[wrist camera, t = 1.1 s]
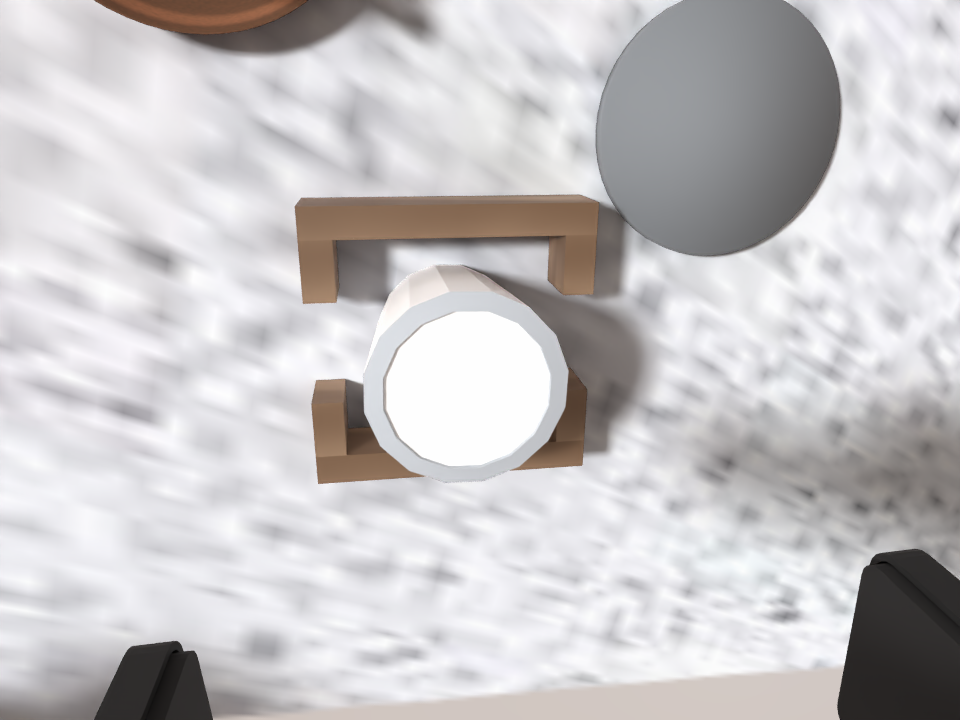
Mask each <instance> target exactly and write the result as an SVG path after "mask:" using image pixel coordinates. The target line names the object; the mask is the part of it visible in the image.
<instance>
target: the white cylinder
mask: <svg viewBox="0 0 960 720" xmlns="http://www.w3.org/2000/svg"><path fill="white" fill-rule="evenodd" d="M568 371H569V370H568V368H567V365H566V362H565V359H564V356H563V353H562V350H561V347H560V344H559V341H558V339H557V336H556V334H555V333H554V332H553V331H552V330H551V329H550V328H549V327H548V326H547V325H546V324H545V323H544V322H543V321H542V320H541V319H540V318H539V316H538V315H537V314H536V313H535V312H534V311H533V310H532V309H531V308H530V307H529V306H527V305H526V304H525V303H523V302H522V301H520V300H519V299H518V298H516V297H515V296H513V295H512V294H511V293H509V292H508V291H506V290H505V289H504V288H502V287H501V286H500V285H498V284H497V283H495V282H494V281H493V280H491V279H490V278H488V277H487V276H486V275H484V274H481V273H479V272H477V271H474V270H472V269H470V268H467V267H465V266H462V265H432V266H430V267H427V268H425V269H422V270H420V271H417V272H415V273H412V274H410V275H408V276H407V277H406V278H405V279H404V280H403V281H402V282H401V283H400V284H399V285H398V286H397V287H396V288H395V289H394V290H393V291H392V292H391V293H390V294H389V297H388V299H387V301H386V304H385V306H384V308H383V311H382V313H381V315H380V318H379V322H378V325H377V329H376V332H375V336H374V339H373V342H372V346H371V349H370V353H369V356H368V360H367V363H366V367H365V370H364V374H363V382H364V414H365V416H366V418H367V420H368V422H369V424H370V426H371V428H372V430H373V432H374V434H375V436H376V438H377V440H378V442H379V445H380V447H382V448H383V449H384V450H385V451H386V452H387V453H389V454H390V455H391V456H392V457H393V458H395V459H396V460H397V461H398V462H399V463H400V464H402V465H403V466H404V467H405V468H406V469H408V470H409V471H411V472H414V473H417V474H420V475H423V476H426V477H430V478H433V479H436V480H439V481H442V482H445V483H448V482H472V481H485V480H487V479H490V478H492V477H495V476H497V475H500V474H502V473H505V472H507V471H510V470H512V469H515V468H517V467H519V466H521V465H522V464H523V463H524V462H525V461H526V460H527V459H528V458H530V457H531V456H532V455H533V454H534V453H535V452H536V451H537V450H539V449H540V448H541V447H542V446H543V445H544V444H545V443H546V442H547V441H548V440H549V438H550V436H551V434H552V432H553V430H554V429H555V427H556V425H557V423H558V421H559V419H560V417H561V415H562V413H563V411H564V409H565V406H566V394H567V383H568Z"/></svg>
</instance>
